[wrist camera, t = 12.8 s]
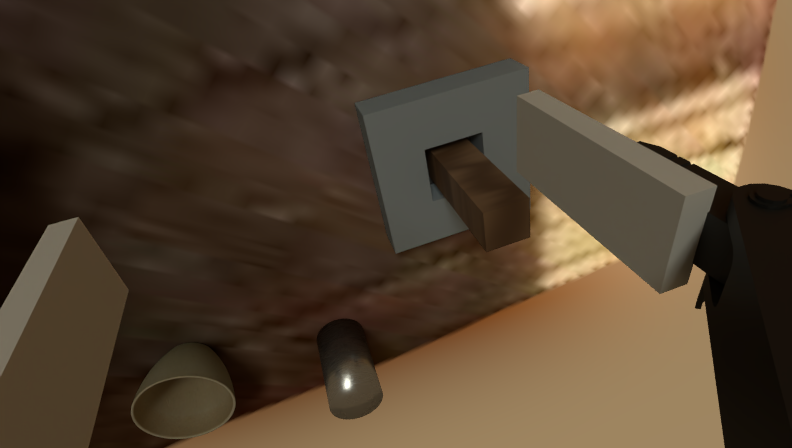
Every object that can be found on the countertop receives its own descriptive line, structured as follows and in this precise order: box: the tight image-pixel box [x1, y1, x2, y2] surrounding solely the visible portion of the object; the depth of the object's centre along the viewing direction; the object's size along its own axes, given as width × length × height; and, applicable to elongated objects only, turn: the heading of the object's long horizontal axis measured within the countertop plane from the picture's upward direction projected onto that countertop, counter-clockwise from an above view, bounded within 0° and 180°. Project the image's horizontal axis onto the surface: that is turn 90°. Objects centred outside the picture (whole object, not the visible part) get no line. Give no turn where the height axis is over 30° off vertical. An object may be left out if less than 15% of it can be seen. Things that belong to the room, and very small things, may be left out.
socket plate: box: [355, 58, 530, 253], centre depth 47 cm, size 16×16×4 cm
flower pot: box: [131, 343, 236, 439], centre depth 51 cm, size 10×10×7 cm
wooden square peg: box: [425, 137, 530, 252], centre depth 43 cm, size 4×4×14 cm
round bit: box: [317, 319, 383, 419], centre depth 55 cm, size 6×6×10 cm
